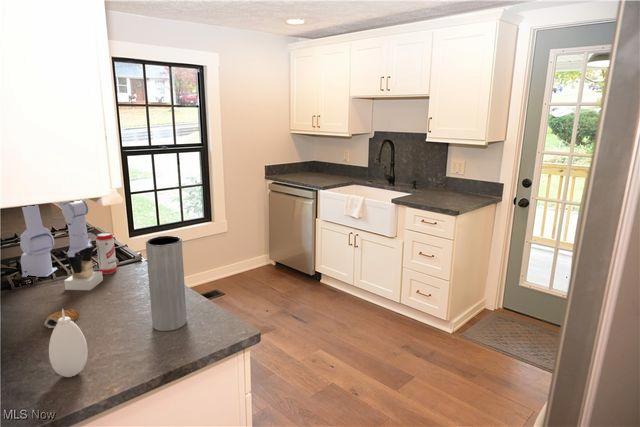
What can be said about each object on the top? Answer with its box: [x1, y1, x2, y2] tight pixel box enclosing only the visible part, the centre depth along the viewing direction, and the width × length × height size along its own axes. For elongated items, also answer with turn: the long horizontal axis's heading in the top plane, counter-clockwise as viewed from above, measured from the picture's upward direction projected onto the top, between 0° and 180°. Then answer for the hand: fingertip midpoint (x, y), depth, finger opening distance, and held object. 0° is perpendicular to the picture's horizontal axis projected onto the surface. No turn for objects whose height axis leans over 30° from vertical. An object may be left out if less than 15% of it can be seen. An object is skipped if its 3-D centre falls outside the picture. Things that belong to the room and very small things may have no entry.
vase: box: [145, 235, 187, 332], centre depth 123 cm, size 10×10×27 cm
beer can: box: [95, 231, 118, 275], centre depth 163 cm, size 6×6×16 cm
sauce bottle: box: [48, 308, 89, 378], centre depth 99 cm, size 8×8×18 cm
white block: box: [64, 270, 104, 291], centre depth 152 cm, size 9×9×4 cm
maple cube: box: [70, 260, 94, 279], centre depth 150 cm, size 5×5×5 cm
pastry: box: [43, 308, 80, 329], centre depth 126 cm, size 9×7×4 cm
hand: (82, 268), depth 151 cm, fingers open, 7 cm apart
